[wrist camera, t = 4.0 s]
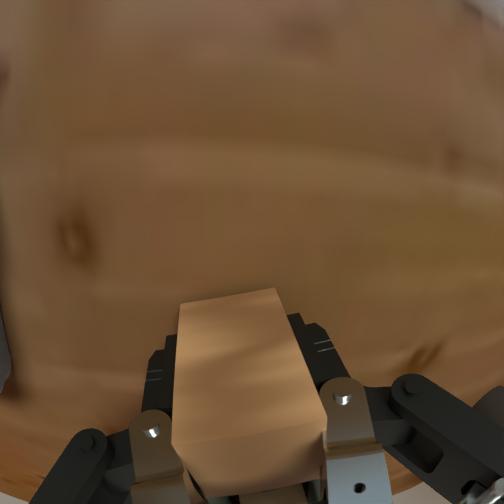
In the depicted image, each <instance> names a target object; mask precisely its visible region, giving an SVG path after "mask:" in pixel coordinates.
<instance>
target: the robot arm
mask: <svg viewBox="0 0 504 504" xmlns="http://www.w3.org/2000/svg"><path fill="white" fill-rule="evenodd" d="M286 316H287V318H288V321H289V323H290V326H291V328H292V331H293V333H294V336H295V338H296V341H297V343H298V345H299V348H300V350H301V353H302V355H303V358H304V360H305V363H306V365H307V368H308V370H309V373H310V375H311V378H312V380H313V383H314V385H315V388H316V390H317V392H318V395H319V397H320V400H321V402H322V405H323V407H324V410H325V412H326V415H327V430H324V431H322V451H323V465H320V469H319V476H320V501H319V502H315V503H311V504H393V500H392V494H391V488H390V482H389V477H388V471H387V466H386V461H385V455H384V451H383V449H384V450H386V451H387V452H388V453H389V454H390V455H392V456H393V457H394V458H395V459H396V460H398V461H399V462H400V463H401V464H403V465H404V466H405V467H406V468H407V469H409V470H410V471H411V472H412V473H414V474H415V475H416V476H417V477H419V478H420V479H421V480H422V481H424V482H425V483H426V484H427V485H429V486H430V487H431V488H433V489H434V490H435V491H436V492H438V493H439V494H440V495H442V496H443V497H444V498H446V499H447V500H448V501H449V502H451V503H452V504H504V428H503V427H501V426H500V425H498V424H497V423H495V422H493V421H492V420H490V419H489V418H487V417H486V416H484V415H483V414H481V413H479V412H478V411H476V410H475V409H473V408H472V407H470V406H469V405H467V404H466V403H464V402H462V401H461V400H459V399H458V398H456V397H455V396H453V395H452V394H450V393H449V392H447V391H446V390H444V389H442V388H441V387H439V386H438V385H436V384H435V383H433V382H432V381H430V380H429V379H427V378H426V377H424V376H422V375H418V374H405V375H402V376H400V377H398V378H397V379H396V380H395V381H394V382H393V384H392V387H366V386H363V385H362V384H361V383H360V382H358V381H357V380H355V379H352V378H351V377H350V375H349V374H348V372H347V370H346V368H345V366H344V364H343V362H342V360H341V359H340V357H339V355H338V353H337V351H336V349H334V346H333V344H332V342H331V341H330V338H329V336H328V334H327V333H326V331H325V329H323V328H322V327H320V326H319V325H318V324H316V323H312V324H307V325H305V324H304V321H303V319H302V317H301V315H300V313H295V314H290V315H286ZM177 335H178V334H175V335H168V336H167V337H166V342H165V349H164V350H156V351H155V352H154V354H153V355H152V357H151V358H150V360H149V363H148V369H147V372H148V373H147V375H146V382H145V388H144V395H143V402H142V409H141V413H140V414H138V415H137V416H135V417H134V418H133V420H132V421H131V423H130V426H129V428H128V429H127V430H124V431H122V432H118V433H115V434H112V435H109V436H105V435H104V434H103V433H102V432H101V431H100V430H97V429H92V428H90V429H85V430H82V431H80V432H78V433H77V434H76V435H75V436H74V437H73V438H72V440H71V441H70V442H69V444H68V445H67V447H66V448H65V450H64V451H63V453H62V454H61V456H60V457H59V459H58V460H57V462H56V463H55V465H54V466H53V468H52V469H51V470H50V472H49V473H48V475H47V477H46V478H45V480H44V481H43V483H42V484H41V486H40V487H39V489H38V490H37V492H36V493H35V495H34V496H33V498H32V499H31V501H30V503H29V504H209V502H208V499H207V497H206V494H205V491H204V490H203V488H202V487H201V486H199V485H198V484H197V482H196V481H195V479H194V478H193V476H192V475H191V474H190V472H189V471H188V469H187V467H186V463H185V462H184V460H183V459H182V457H181V456H180V455H178V454H177V452H176V451H175V449H174V448H173V446H172V444H171V439H172V412H173V392H174V375H175V361H176V347H177Z"/></svg>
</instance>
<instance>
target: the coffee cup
mask: <svg viewBox="0 0 504 504" xmlns="http://www.w3.org/2000/svg"><path fill="white" fill-rule="evenodd" d="M472 408H473V409H475V410H476V411H478V412H479V413H481V414H483V415H484V416H486V417H487V418H489V419H490V420H492V421H493V422H495V423H497V424H498V425H500V426H501V427H503V428H504V387H503V386H498V387H496V388H494V389H492V390H491V391H490V392H488V393H487V394H486V395H485V396H484V397H482V398H481V399H480V400H479V401H478V402H477V403H476V404H475V405H474V406H473V407H472Z"/></svg>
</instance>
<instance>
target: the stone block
mask: <svg viewBox="0 0 504 504" xmlns="http://www.w3.org/2000/svg"><path fill="white" fill-rule="evenodd" d="M11 369H12V362H11V355H10V351H9V347H8V343H7V338H6V334H5V329H4V325H3V320H2V315H1V309H0V393H1V392H2V390H3V386H4V383H5V381H6V379H7V378H8V377H9V375H10V373H11Z"/></svg>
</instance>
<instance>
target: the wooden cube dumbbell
mask: <svg viewBox="0 0 504 504" xmlns="http://www.w3.org/2000/svg"><path fill="white" fill-rule="evenodd" d="M324 430H327V415H326V412H325V410H324V407H323V405H322V402H321V400H320V397H319V395H318V392H317V390H316V388H315V385H314V383H313V380H312V378H311V375H310V373H309V370H308V368H307V365H306V363H305V360H304V358H303V355H302V353H301V350H300V348H299V345H298V343H297V341H296V338H295V336H294V333H293V331H292V328H291V326H290V323H289V321H288V318H287V316H286V313H285V311H284V309H283V306H282V304H281V301H280V299H279V296H278V294H277V291H276V289H275V287H274V288H269V289H263V290H258V291H253V292H247V293H241V294H236V295H230V296H225V297H219V298H213V299H207V300H201V301H195V302H189V303H183V304H180V313H179V324H178V335H177V347H176V361H175V375H174V392H173V412H172V439H171V444H172V446H173V448H174V449H175V451H176V452H177V454H178V455H180V456H181V457H182V459H183V460H184V462H185V463H186V467H187V469H188V471H189V472H190V474H191V475H192V476H193V478H194V479H195V481H196V482H197V484H198V485H199V486H201V487H202V488H203V490H204V491H205V494H206V496H207V498H212V497H222V496H231V495H239V501H240V504H308V503H307V499H306V496H305V492H304V489H303V485H302V483H303V482H307V481H311V480H315V479H319V478H320V476H319V469H320V465H323V451H322V431H324Z"/></svg>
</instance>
